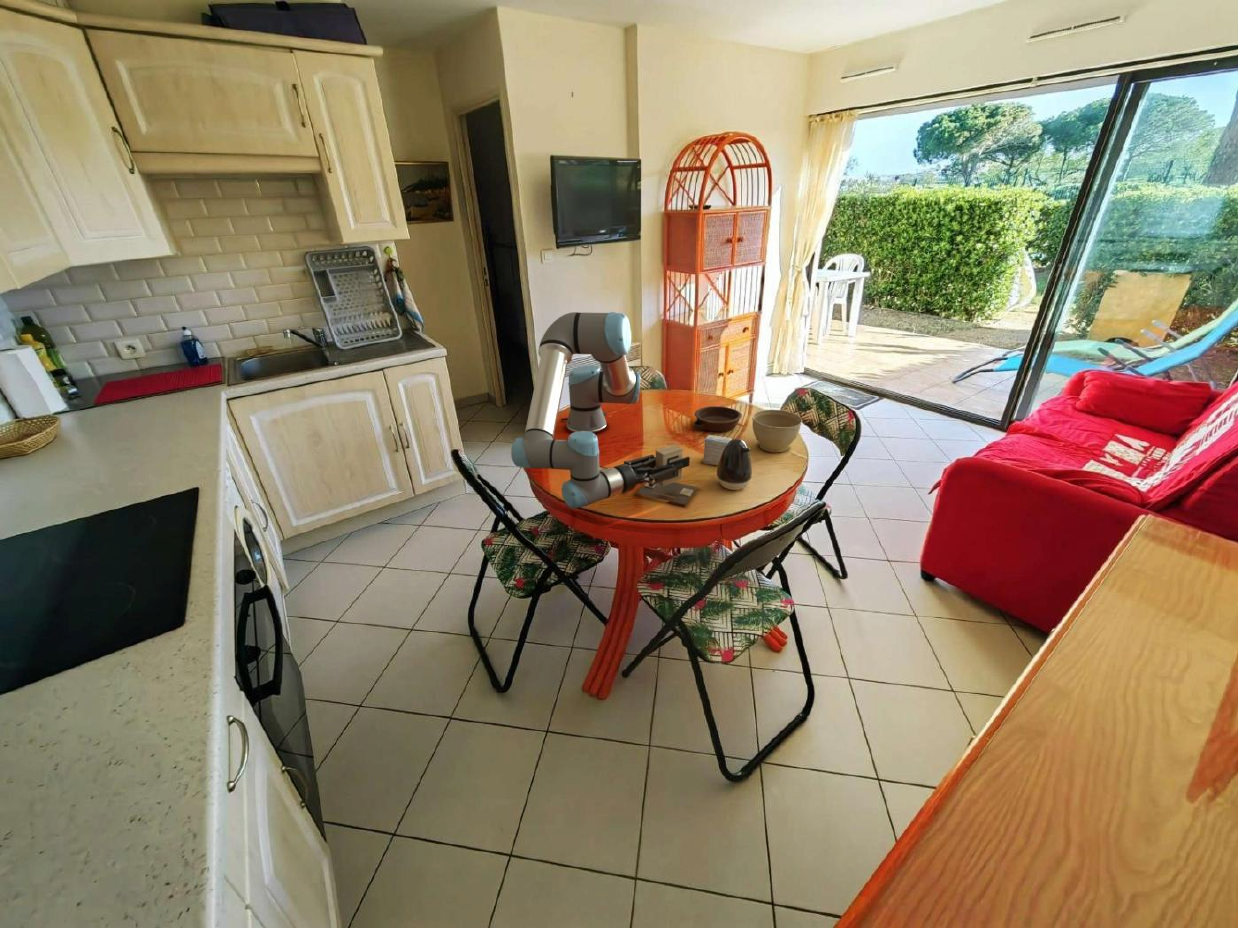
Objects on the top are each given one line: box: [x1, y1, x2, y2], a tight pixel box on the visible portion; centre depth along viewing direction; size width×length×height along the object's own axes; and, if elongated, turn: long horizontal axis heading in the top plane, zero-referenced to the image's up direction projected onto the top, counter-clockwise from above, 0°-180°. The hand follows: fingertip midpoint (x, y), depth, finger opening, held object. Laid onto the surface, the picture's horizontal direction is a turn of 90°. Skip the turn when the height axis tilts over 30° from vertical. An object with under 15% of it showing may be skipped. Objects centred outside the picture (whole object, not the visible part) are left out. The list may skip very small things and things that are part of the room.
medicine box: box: [702, 434, 733, 466], centre depth 165 cm, size 8×4×9 cm, turn 65°
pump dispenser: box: [716, 438, 753, 491], centre depth 149 cm, size 10×10×15 cm
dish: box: [692, 405, 743, 433], centre depth 194 cm, size 18×22×5 cm
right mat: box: [636, 482, 698, 508], centre depth 149 cm, size 15×11×1 cm
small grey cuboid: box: [655, 444, 684, 486], centre depth 147 cm, size 4×7×10 cm, turn 124°
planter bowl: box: [751, 409, 803, 453], centre depth 174 cm, size 16×16×11 cm
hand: (683, 458), depth 149 cm, fingers closed on small grey cuboid, 4 cm apart
